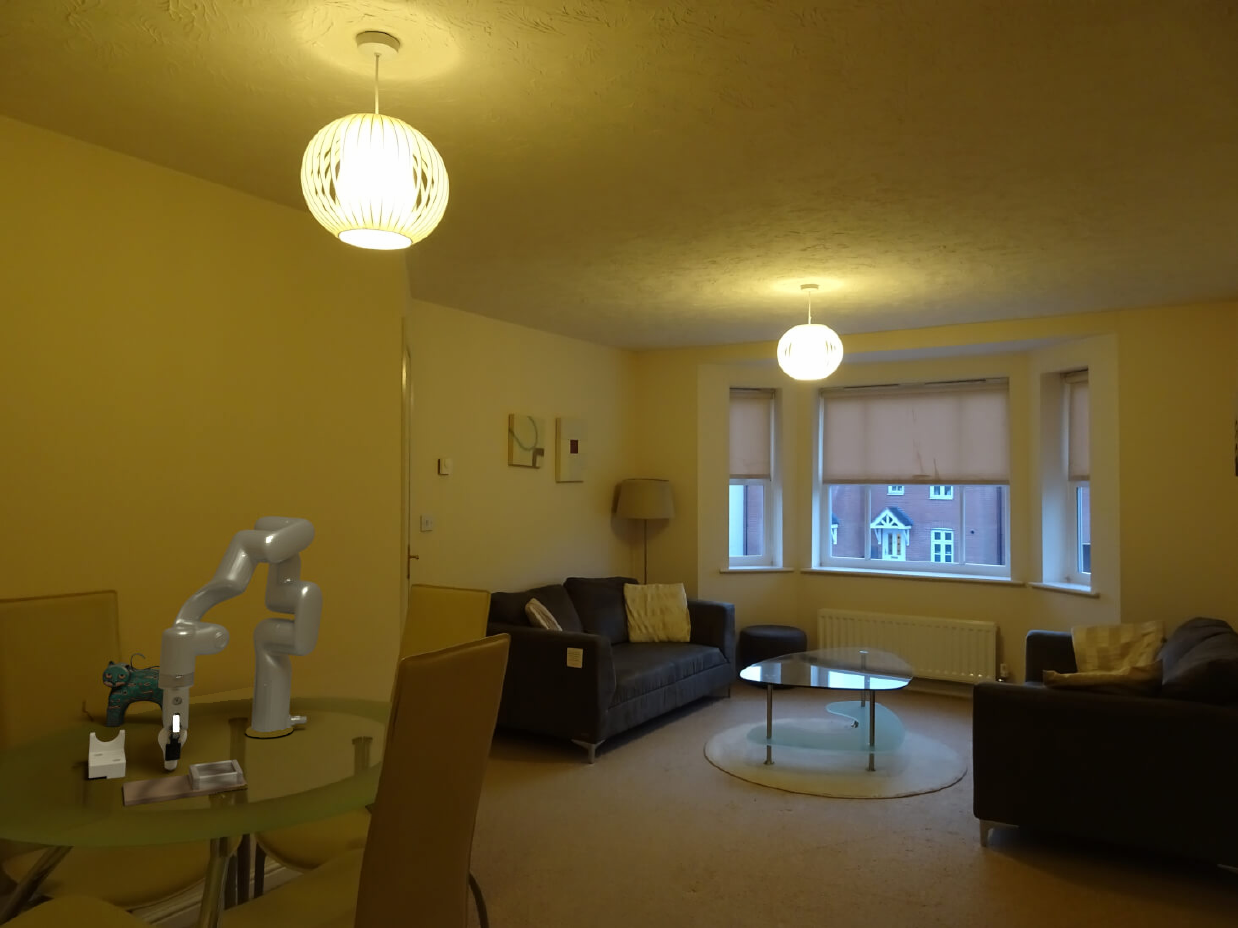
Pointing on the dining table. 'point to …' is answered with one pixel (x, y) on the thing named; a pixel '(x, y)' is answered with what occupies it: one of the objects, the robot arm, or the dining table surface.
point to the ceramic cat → (129, 689)
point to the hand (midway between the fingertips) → (171, 755)
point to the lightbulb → (162, 741)
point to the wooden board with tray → (186, 783)
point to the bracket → (107, 757)
